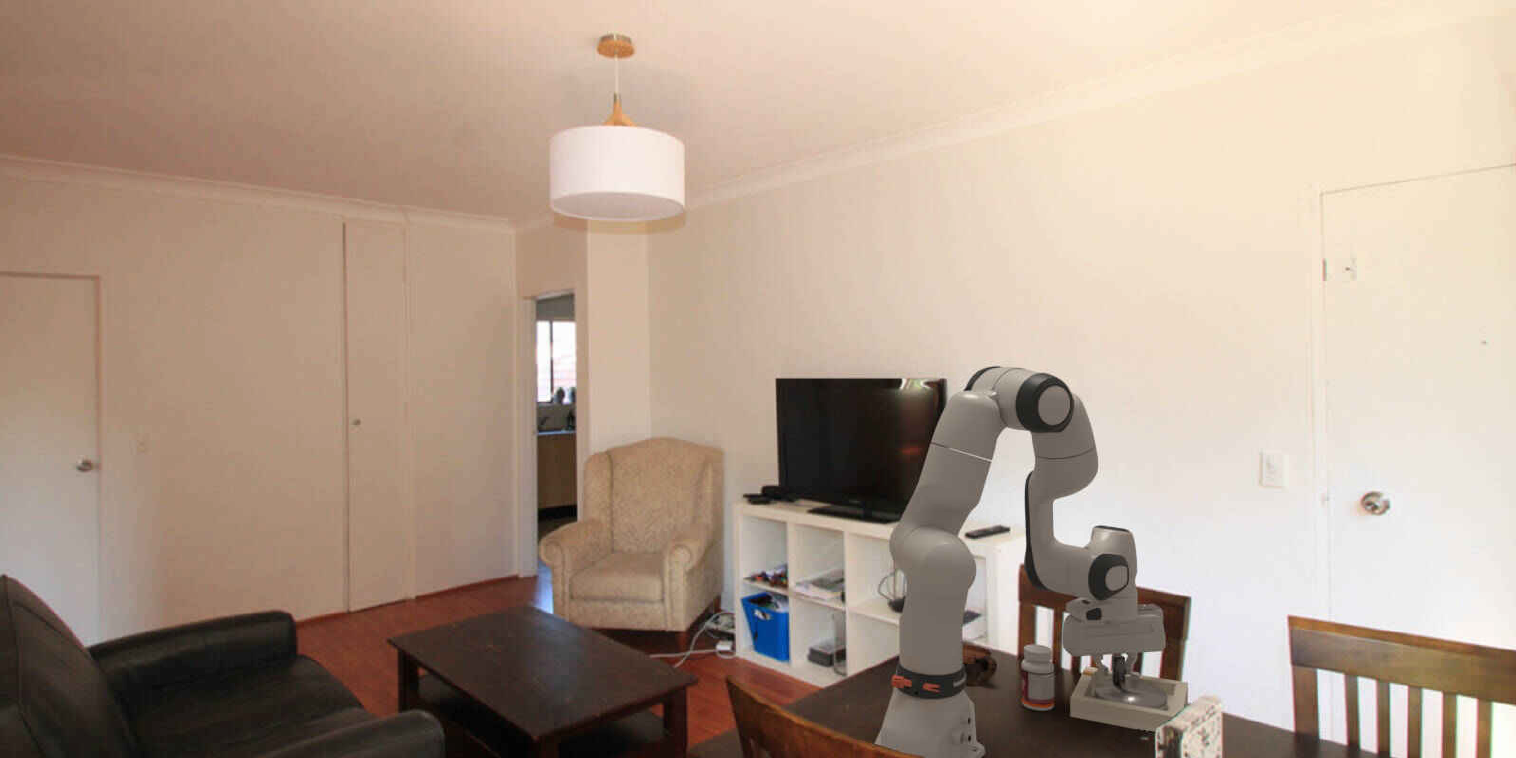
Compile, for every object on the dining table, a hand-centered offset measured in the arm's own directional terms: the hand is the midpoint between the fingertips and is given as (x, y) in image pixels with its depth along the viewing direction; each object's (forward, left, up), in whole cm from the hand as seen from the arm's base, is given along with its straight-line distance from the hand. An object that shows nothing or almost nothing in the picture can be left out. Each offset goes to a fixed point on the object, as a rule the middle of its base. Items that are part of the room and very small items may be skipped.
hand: (1114, 674), depth 165 cm
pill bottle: (-11, +13, -5) cm, 17 cm away
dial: (-4, -3, -3) cm, 6 cm away
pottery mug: (-3, +27, -5) cm, 28 cm away
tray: (-4, -3, -5) cm, 7 cm away
